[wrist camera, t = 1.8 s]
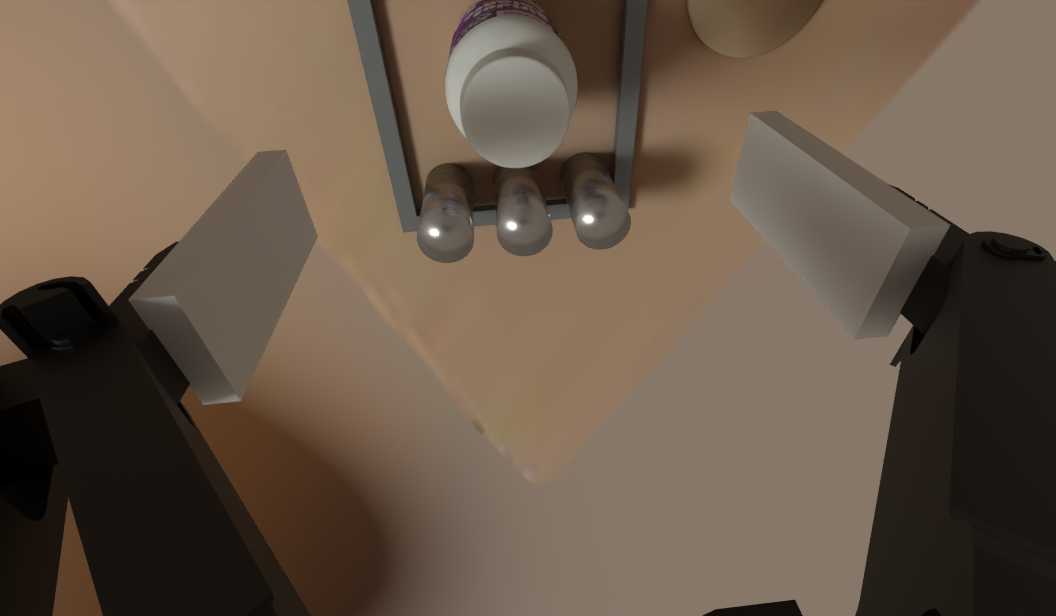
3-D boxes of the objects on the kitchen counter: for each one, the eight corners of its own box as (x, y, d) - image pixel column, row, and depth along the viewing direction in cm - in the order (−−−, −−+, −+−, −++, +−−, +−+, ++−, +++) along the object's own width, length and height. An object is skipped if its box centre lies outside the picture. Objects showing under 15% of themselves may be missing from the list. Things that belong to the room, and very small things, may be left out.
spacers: (355, -174, 19) (319, -197, 15) (627, -188, 20) (674, -215, 15) (430, 209, 30) (422, 264, 25) (604, 194, 30) (628, 246, 26)
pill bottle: (541, -28, 23) (573, 7, 16) (568, 87, 26) (605, 160, 19) (433, 13, 24) (415, 64, 16) (473, 119, 27) (473, 203, 20)
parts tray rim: (299, -212, 19) (295, -215, 18) (665, -230, 19) (670, -233, 19) (404, 227, 31) (403, 232, 30) (625, 208, 31) (627, 213, 31)
